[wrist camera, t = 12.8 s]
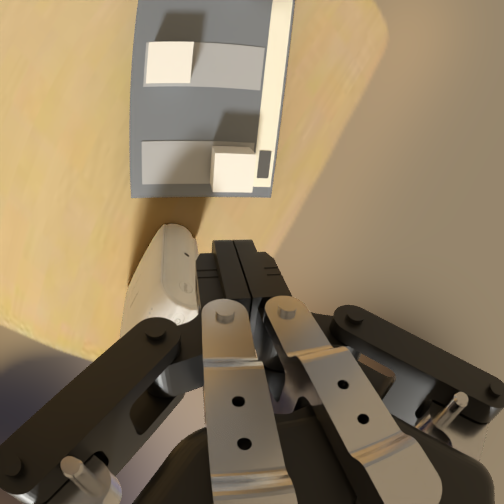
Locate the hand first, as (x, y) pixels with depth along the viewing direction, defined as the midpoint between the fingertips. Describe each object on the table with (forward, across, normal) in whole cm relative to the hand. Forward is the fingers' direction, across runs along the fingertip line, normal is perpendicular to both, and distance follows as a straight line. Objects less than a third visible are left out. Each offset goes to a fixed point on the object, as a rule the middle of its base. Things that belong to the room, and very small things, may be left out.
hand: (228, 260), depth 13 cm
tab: (+14, -2, 0) cm, 15 cm away
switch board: (+17, 0, -8) cm, 19 cm away
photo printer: (+17, +4, +11) cm, 21 cm away
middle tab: (+14, +3, -8) cm, 17 cm away
